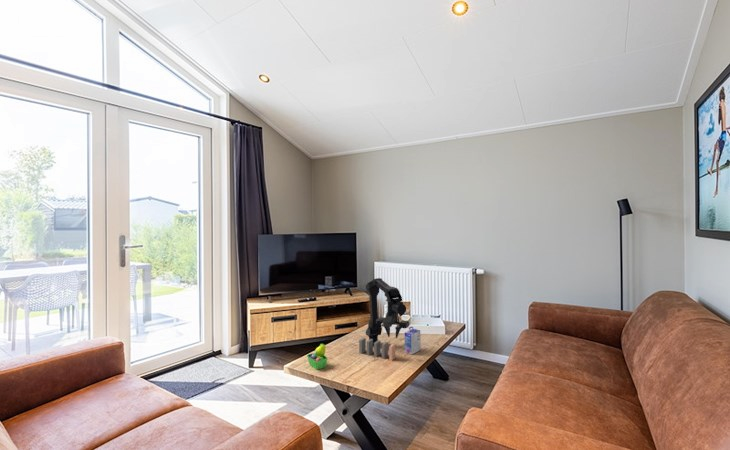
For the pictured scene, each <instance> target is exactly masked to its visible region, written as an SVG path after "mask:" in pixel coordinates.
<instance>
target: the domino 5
mask: <svg viewBox="0 0 730 450" xmlns="http://www.w3.org/2000/svg"><path fill="white" fill-rule="evenodd" d="M395 358H396V343H391V344H390V345H388V360H389V361H391V362H392V361H393V360H394V359H395Z"/></svg>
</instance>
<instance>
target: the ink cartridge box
mask: <svg viewBox="0 0 730 450" xmlns="http://www.w3.org/2000/svg"><path fill="white" fill-rule="evenodd" d="M421 342H422V341H421V330H420V329H417V328H414V327H413V326H409V327H408V331H405V332H404V350H405V351H404V352H405V353H406V354H409V355H413V354H416V353H417V352H419V351H421V348H422V347H421V346H422V345H421Z"/></svg>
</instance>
